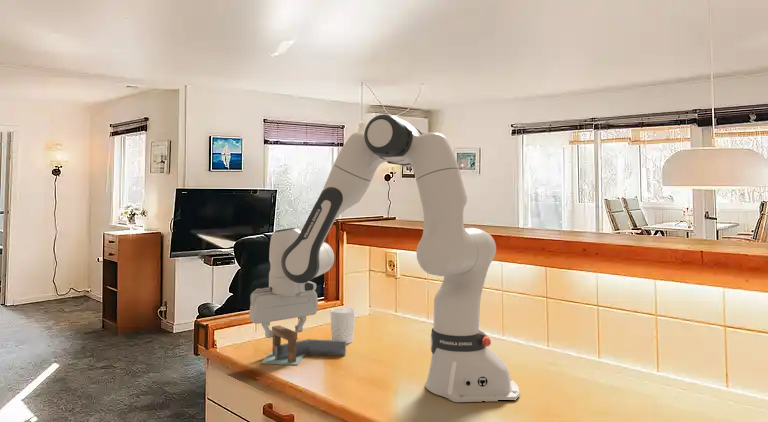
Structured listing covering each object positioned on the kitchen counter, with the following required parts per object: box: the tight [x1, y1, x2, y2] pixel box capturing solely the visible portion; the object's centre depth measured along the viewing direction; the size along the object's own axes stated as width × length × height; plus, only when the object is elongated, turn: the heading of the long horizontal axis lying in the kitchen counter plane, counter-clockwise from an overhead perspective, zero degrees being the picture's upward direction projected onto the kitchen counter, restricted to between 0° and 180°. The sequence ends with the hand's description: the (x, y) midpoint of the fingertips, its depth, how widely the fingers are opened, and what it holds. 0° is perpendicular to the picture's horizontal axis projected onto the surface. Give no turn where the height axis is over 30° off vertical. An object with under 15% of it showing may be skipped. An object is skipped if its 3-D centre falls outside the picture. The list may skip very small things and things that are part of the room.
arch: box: [271, 325, 298, 363], centre depth 148 cm, size 2×10×8 cm, turn 41°
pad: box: [260, 351, 306, 366], centre depth 148 cm, size 10×10×1 cm
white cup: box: [330, 306, 356, 345], centre depth 166 cm, size 8×8×10 cm
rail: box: [275, 338, 347, 360], centre depth 150 cm, size 19×9×4 cm, turn 86°
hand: (284, 334), depth 148 cm, fingers open, 8 cm apart
